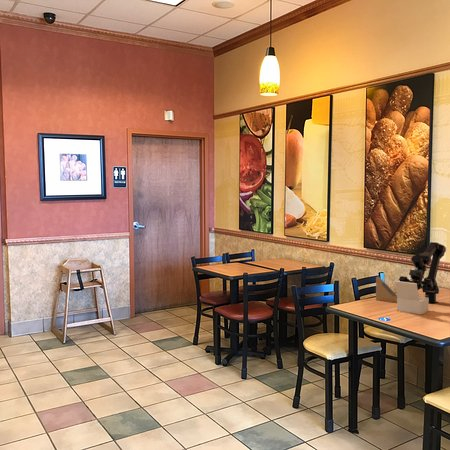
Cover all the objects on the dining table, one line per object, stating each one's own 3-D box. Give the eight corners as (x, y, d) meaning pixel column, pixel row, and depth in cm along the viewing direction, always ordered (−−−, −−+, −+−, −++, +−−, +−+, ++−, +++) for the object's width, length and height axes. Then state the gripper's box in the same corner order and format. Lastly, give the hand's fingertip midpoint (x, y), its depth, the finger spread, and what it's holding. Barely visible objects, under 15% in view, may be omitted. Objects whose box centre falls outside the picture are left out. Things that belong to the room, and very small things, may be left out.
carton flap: (394, 280, 285) (394, 281, 284) (416, 283, 276) (416, 283, 276) (398, 297, 289) (397, 298, 289) (419, 300, 281) (419, 301, 281)
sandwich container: (400, 302, 312) (401, 279, 311) (375, 300, 318) (376, 277, 317) (401, 299, 320) (402, 277, 319) (377, 297, 326) (377, 275, 325)
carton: (405, 307, 299) (405, 294, 299) (428, 310, 290) (428, 297, 289) (396, 311, 291) (397, 297, 290) (420, 315, 281) (420, 301, 281)
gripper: (400, 262, 297) (392, 283, 290) (431, 265, 285) (424, 287, 277) (405, 273, 304) (398, 294, 296) (436, 277, 291) (429, 298, 284)
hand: (411, 293), depth 288 cm, fingers closed
